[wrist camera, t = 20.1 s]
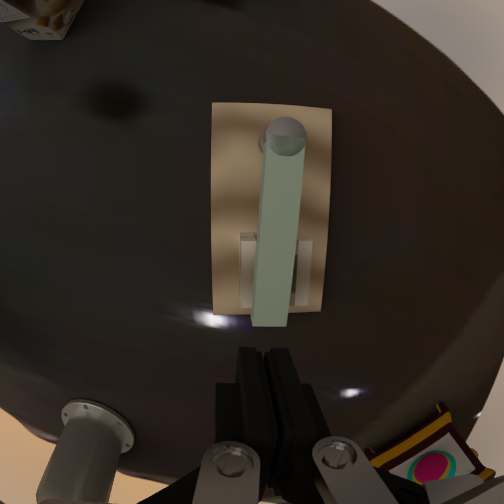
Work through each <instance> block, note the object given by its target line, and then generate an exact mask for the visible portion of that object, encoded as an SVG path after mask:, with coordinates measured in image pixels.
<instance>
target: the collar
mask: <svg viewBox="0 0 504 504" xmlns="http://www.w3.org/2000/svg"><path fill="white" fill-rule="evenodd" d="M312 242H313V241H312V240H311V239H310V238H309V237H308V236H307V235H305V234H304V233H303V232H297V241H296V250H295V259H294V268H293V277H292V285H291V293H290V301H289V306H305V305H308V296H309V284H310V271H311V257H312ZM256 243H257V232H239V295H240V302H241V308H252V295H253V282H254V269H255V256H256Z"/></svg>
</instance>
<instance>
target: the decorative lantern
mask: <svg viewBox="0 0 504 504" xmlns="http://www.w3.org/2000/svg"><path fill="white" fill-rule="evenodd" d="M436 407H437V409H438V411H439V415H438V416H436V417H435V418H433V419H432V420H431V421H429V422H428V423H426V424H425V425H423V426H422V427H420V428H419V429H417V430H416V431H414V432H413V433H411V434H409V435H408V436H406V437H405V438H403V439H401V440H400V441H398V442H396V443H395V444H393V445H391V446H390V447H388V448H386V449H384V450H382V451H381V452H378V453H374V452H373V450H372V449H371V448H370V447H366V448H365V454H366V457H367V459H368V460H369V462H370V463H371V465H372V466H375V467H377V468H379V469H382V470H384V471H387V472H389V473H392V474H395V475H397V476H400V477H403V478H405V479H408V480H411V481H414V482H416V483H418V484H420V485H422V484H423V483H424V482H427V481H433V480H439V479H445V478H450V477H456V476H460V475H465V474H474V475H477V476H479V477H480V478H481V479H482V480H483V482H486V481H489V480H491V479H494V476H495V474H496V472H495V471H494V470H493V469H489V468H486V467H485V466H483V465H482V463H481V462H480V461H479V459H478V453H477V452H476V451H475V450H474V449H471V448H469V446H468V445H467V444H466V442H465V441H464V440H463V438H462V437H461V436H460V435H459V433H458V432H457V431H456V429H455V428H454V427H453V425H452V419H451V414H450V411H449V409H448V408H447V407H446V405H445V404H444V403H442V402H438V403H437V405H436Z"/></svg>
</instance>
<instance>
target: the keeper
mask: <svg viewBox="0 0 504 504" xmlns="http://www.w3.org/2000/svg"><path fill="white" fill-rule="evenodd" d="M263 141H264V150H263V163H262V177H261V190H260V203H259V217H258V230H257V243H256V256H255V269H254V282H253V295H252V308H251V321H252V326H286V324H287V317H288V309H289V301H290V293H291V285H292V277H293V268H294V259H295V250H296V241H297V231H298V221H299V211H300V201H301V189H302V178H303V166H304V153H305V144H306V141H307V134H306V131H305V128H304V126H303V125H302V124H301V123H300V122H299V121H298V120H296V119H294V118H291V117H280V118H277V119H275V120H274V121H273V122H272V123H270V124H269V125H268V126H267V128H266V129H265V131H264V135H263Z"/></svg>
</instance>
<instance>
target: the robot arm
mask: <svg viewBox="0 0 504 504" xmlns="http://www.w3.org/2000/svg"><path fill="white" fill-rule="evenodd" d="M62 420H63V423H64V425H65V428H64V430H63V432H62V434H61V436H60V438H59V440H58V443H57V445H56V447H55V449H54V451H53V454H52V456H51V458H50V460H49V462H48V465H47V467H46V470H45V472H44V474H43V477H42V479H41V481H40V484H39V486H38V489H37V493H36V500H37V504H110V503H108V502H109V497H110V492H111V489H112V485H113V481H114V477H115V473H116V470H117V469H118V462H119V458H120V454H121V453H124V452H127V451H129V450H130V449H131V448H132V446H133V444H134V439H135V437H134V432H133V429H132V428H131V426H130V425H129V423H128V422H127V421H126V420H125V419H124V418H123V417H122V416H121V415H119V414H118V413H117V412H115V411H114V410H112V409H110V408H109V407H107V406H105V405H102V404H100V403H97V402H94V401H91V400H85V399H76V400H72V401H69V402H68V403H67V404H66V405H65V406H64V408H63V410H62ZM266 483H267V486H268V488H274V493H275V496H279V495H282V499H284V500H286V501H287V502H289V503H290V504H504V475H503V476H500V477H496V478H494V479H491V480H489V481H486V482H483V480H482V479H481V478H480V477H479V476H477V475H474V474H465V475H460V476H456V477H450V478H445V479H439V480H433V481H427V482H424V483H423V484H422V485H420V484H418V483H416V482H414V481H411V480H408V479H405V478H403V477H400V476H397V475H395V474H392V473H389V472H387V471H384V470H382V469H379V468H377V467H375V466H372V465H371V463H370V462H369V460H368V459H367V458H366V456H365V455H364V453H363V452H362V450H361V449H360V447H359V446H358V445H357V444H356V443H355V442H353V441H351V440H350V439H347V438H344V437H338V436H331V434H330V431H329V429H328V426H327V424H326V421H325V419H324V416H323V414H322V411H321V409H320V406H319V404H318V401H317V399H316V396H315V394H314V391H313V389H312V386H311V385H310V384H309V383H308V384H301V383H300V381H299V378H298V375H297V372H296V369H295V367H294V364H293V361H292V358H291V355H290V353H289V350H288V348H271V350H270V352H265V355H264V361H263V357H262V353H261V352H256V349H255V347H239V349H238V358H237V368H236V378H235V383H216V386H215V409H214V445H212V446H211V447H209V448H208V449H207V450H206V452H205V454H204V456H203V460H202V464H201V466H200V467H198V468H197V469H195V470H193V471H192V472H190V473H189V474H187V475H186V476H184V477H182V478H181V479H179V480H177V481H176V482H174V483H172V484H171V485H169V486H167V487H166V488H164V489H162V490H160V491H159V492H157V493H155V494H153V495H152V496H150V497H148V498H146V499H144V500H142V501H140V502H139V503H137V504H258V503H259V502H260V501H261V500H262V496H263V493H264V490H265V487H266ZM0 504H5V503H3V502H2V501H0Z"/></svg>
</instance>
